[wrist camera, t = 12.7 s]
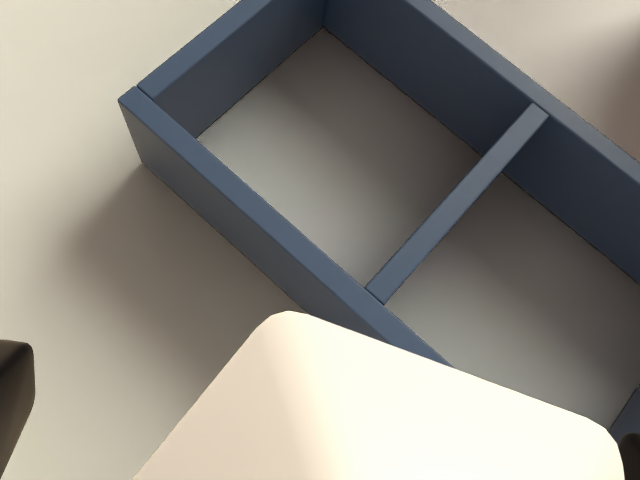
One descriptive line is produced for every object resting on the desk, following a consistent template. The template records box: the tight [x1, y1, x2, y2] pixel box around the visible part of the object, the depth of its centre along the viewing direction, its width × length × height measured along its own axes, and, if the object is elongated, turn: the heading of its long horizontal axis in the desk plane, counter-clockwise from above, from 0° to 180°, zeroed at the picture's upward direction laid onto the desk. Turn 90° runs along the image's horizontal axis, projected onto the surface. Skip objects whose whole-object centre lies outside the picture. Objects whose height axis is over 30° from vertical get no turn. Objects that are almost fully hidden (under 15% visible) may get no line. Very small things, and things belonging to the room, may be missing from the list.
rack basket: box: [118, 0, 640, 445], centre depth 17 cm, size 8×16×4 cm, turn 48°
